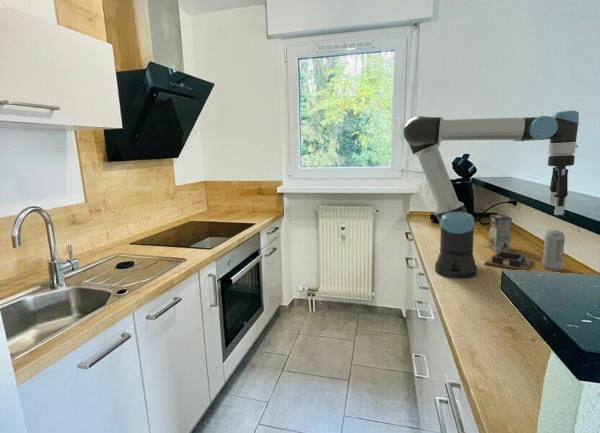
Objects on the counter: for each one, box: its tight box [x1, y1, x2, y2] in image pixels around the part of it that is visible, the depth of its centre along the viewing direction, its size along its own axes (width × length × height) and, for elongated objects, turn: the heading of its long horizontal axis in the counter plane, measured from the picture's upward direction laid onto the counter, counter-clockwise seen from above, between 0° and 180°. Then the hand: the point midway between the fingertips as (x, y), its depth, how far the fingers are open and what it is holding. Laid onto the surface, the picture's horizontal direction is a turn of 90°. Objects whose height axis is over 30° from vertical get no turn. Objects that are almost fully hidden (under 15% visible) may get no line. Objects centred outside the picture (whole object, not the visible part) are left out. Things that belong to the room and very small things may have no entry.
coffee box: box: [488, 214, 513, 253], centre depth 149 cm, size 9×6×16 cm
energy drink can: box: [541, 229, 566, 271], centre depth 122 cm, size 6×6×15 cm
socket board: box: [483, 251, 534, 271], centre depth 131 cm, size 14×14×4 cm
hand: (556, 211), depth 120 cm, fingers open, 13 cm apart
